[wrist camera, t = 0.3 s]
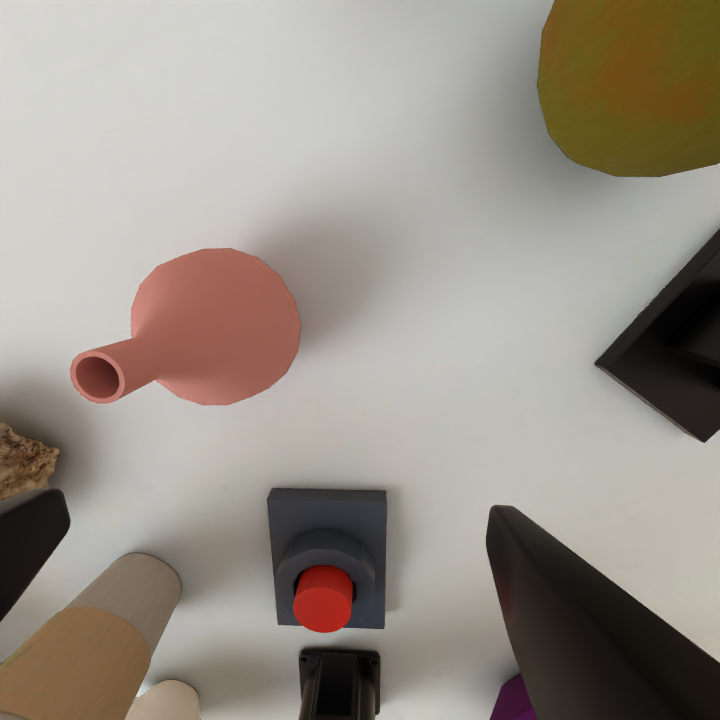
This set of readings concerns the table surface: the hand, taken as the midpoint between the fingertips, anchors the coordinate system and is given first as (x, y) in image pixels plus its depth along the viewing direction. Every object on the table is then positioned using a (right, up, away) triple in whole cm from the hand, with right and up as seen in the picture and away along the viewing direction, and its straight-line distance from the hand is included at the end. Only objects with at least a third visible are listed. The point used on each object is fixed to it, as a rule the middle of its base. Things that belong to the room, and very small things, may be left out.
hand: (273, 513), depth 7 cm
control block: (0, -11, +18) cm, 21 cm away
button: (0, -12, +16) cm, 20 cm away
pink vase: (-5, +6, +14) cm, 16 cm away
